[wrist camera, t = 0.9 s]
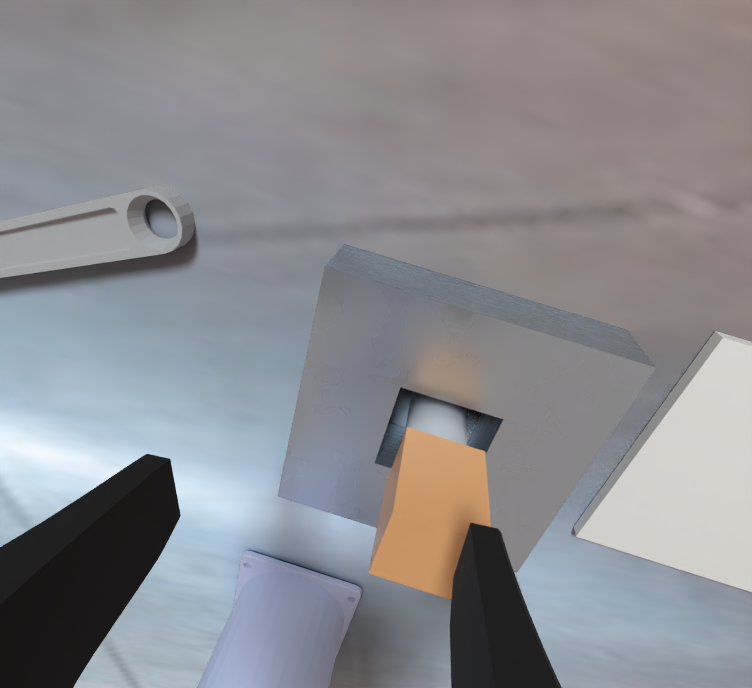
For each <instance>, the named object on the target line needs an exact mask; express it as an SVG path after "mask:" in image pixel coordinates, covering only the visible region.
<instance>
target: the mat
mask: <svg viewBox="0 0 752 688" xmlns="http://www.w3.org/2000/svg"><path fill="white" fill-rule="evenodd" d="M574 531H575V535H576V537H579V538H582V539H585V540H588V541H592V542H595V543H598V544H601V545H604V546H607V547H610V548H614V549H617V550H620V551H623V552H626V553H629V554H633V555H636V556H639V557H642V558H645V559H648V560H652V561H655V562H658V563H661V564H664V565H667V566H670V567H674V568H677V569H680V570H683V571H686V572H689V573H693V574H696V575H699V576H702V577H705V578H708V579H712V580H715V581H718V582H721V583H724V584H727V585H730V586H734V587H737V588H740V589H743V590H746V591H749V592H752V342H750V341H747V340H743V339H740V338H737V337H733V336H730V335H727V334H724V333H720V332H717V331H715V332H714V333H713V335H712V336H711V337H710V339H709V340H708V341H707V343H706V344H705V346H704V347H703V348H702V350H701V351H700V353H699V354H698V355H697V357H696V358H695V359H694V361H693V362H692V364H691V365H690V366H689V368H688V369H687V371H686V372H685V373H684V375H683V376H682V377H681V379H680V380H679V382H678V383H677V384H676V386H675V387H674V388H673V390H672V391H671V393H670V394H669V395H668V397H667V398H666V400H665V401H664V402H663V404H662V405H661V406H660V408H659V409H658V411H657V412H656V413H655V415H654V416H653V418H652V419H651V420H650V422H649V423H648V424H647V426H646V427H645V429H644V430H643V431H642V433H641V434H640V436H639V437H638V438H637V440H636V441H635V442H634V444H633V445H632V447H631V448H630V449H629V451H628V452H627V454H626V455H625V456H624V458H623V459H622V460H621V462H620V463H619V465H618V466H617V467H616V469H615V470H614V471H613V473H612V474H611V476H610V477H609V478H608V480H607V481H606V483H605V484H604V485H603V487H602V488H601V489H600V491H599V492H598V494H597V495H596V496H595V498H594V499H593V501H592V502H591V503H590V505H589V506H588V507H587V509H586V510H585V512H584V513H583V514H582V516H581V517H580V519H579V520H578V521H577V523H576V524H575V525H574Z"/></svg>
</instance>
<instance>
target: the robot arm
mask: <svg viewBox="0 0 752 688" xmlns="http://www.w3.org/2000/svg"><path fill="white" fill-rule="evenodd" d="M179 518H180V510H179V505H178V499H177V494H176V488H175V483H174V477H173V472H172V466H171V461H170V459H168V458H164V457H159V456H154V455H150V454H146V455H144V456H143V457H141V458H140V459H138V460H136V461H135V462H133V463H132V464H130V465H129V466H127V467H126V468H124V469H123V470H121V471H120V472H118V473H117V474H115V475H114V476H112V477H111V478H109V479H108V480H106V481H105V482H103V483H102V484H100V485H99V486H97V487H96V488H94V489H93V490H91V491H90V492H88V493H87V494H85V495H84V496H82V497H81V498H79V499H77V500H76V501H74V502H73V503H71V504H70V505H68V506H67V507H65V508H63V509H62V510H60V511H59V512H57V513H56V514H54V515H53V516H51V517H50V518H48V519H46V520H45V521H43V522H42V523H40V524H38V525H37V526H35V527H33V528H32V529H30V530H28V531H27V532H25V533H23V534H22V535H20V536H18V537H17V538H15V539H13V540H12V541H10V542H8V543H7V544H5V545H3V546H2V547H0V688H73V687H74V685H75V683H76V682H77V680H78V678H79V677H80V675H81V673H82V672H83V670H84V669H85V667H86V665H87V664H88V662H89V661H90V659H91V658H92V656H93V654H94V653H95V651H96V650H97V648H98V647H99V646H100V644H101V643H102V641H103V640H104V638H105V637H106V635H107V634H108V632H109V631H110V629H111V628H112V626H113V625H114V623H115V622H116V620H117V619H118V618H119V616H120V615H121V613H122V612H123V610H124V609H125V607H126V606H127V604H128V603H129V601H130V600H131V598H132V597H133V595H134V594H135V593H136V591H137V590H138V588H139V587H140V585H141V584H142V582H143V581H144V579H145V578H146V576H147V575H148V573H149V572H150V570H151V569H152V567H153V566H154V564H155V563H156V561H157V560H158V558H159V556H160V554H161V553H162V551H163V549H164V547H165V545H166V543H167V541H168V540H169V538H170V536H171V534H172V532H173V530H174V528H175V526H176V524H177V522H178V520H179ZM361 594H362V590H361V588H360V587H359V586H357V585H354V584H351V583H348V582H345V581H342V580H339V579H336V578H333V577H330V576H327V575H323V574H320V573H317V572H314V571H311V570H308V569H305V568H302V567H299V566H296V565H293V564H289V563H286V562H283V561H280V560H277V559H274V558H271V557H268V556H265V555H262V554H259V553H256V552H252V551H245V552H244V553H243V555H242V557H241V561H240V567H239V573H238V579H237V585H236V591H235V598H234V604H233V610H232V612H231V614H230V616H229V618H228V621H227V623H226V625H225V627H224V629H223V632H222V634H221V636H220V638H219V640H218V642H217V645H216V647H215V649H214V651H213V653H212V656H211V658H210V660H209V662H208V664H207V667H206V669H205V671H204V673H203V675H202V678H201V680H200V682H199V684H198V686H197V688H329V685H330V681H331V676H332V672H333V667H334V663H335V659H336V657H337V654H338V652H339V649H340V647H341V644H342V642H343V639H344V637H345V634H346V632H347V630H348V627H349V625H350V622H351V620H352V617H353V615H354V612H355V610H356V608H357V605H358V603H359V600H360V598H361ZM450 649H451V685H452V688H561V685H560V683H559V681H558V679H557V677H556V675H555V672H554V670H553V668H552V666H551V664H550V661H549V659H548V657H547V655H546V652H545V650H544V648H543V645H542V643H541V640H540V638H539V636H538V633H537V631H536V628H535V626H534V624H533V621H532V619H531V616H530V614H529V611H528V609H527V606H526V604H525V601H524V599H523V596H522V593H521V590H520V588H519V585H518V582H517V579H516V577H515V574H514V571H513V568H512V565H511V562H510V559H509V556H508V553H507V550H506V547H505V543H504V540H503V536H502V533H501V532H500V530H499V529H498V528H494V527H489V526H484V525H480V524H475V523H470V525H469V529H468V532H467V535H466V538H465V541H464V545H463V548H462V551H461V554H460V557H459V561H458V564H457V567H456V570H455V573H454V577H453V588H452V602H451V618H450Z"/></svg>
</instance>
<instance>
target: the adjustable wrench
mask: <svg viewBox="0 0 752 688" xmlns="http://www.w3.org/2000/svg"><path fill="white" fill-rule="evenodd" d="M154 199H160V200H161V201H163V202H164V203H165V204H166V205H167V206H168V207H169V208H170V209H171V211H172V213H173V214H174V216H175V218H176V222H177V226H178V230H177V235H176V236H175V237H173V238H170V239H165V238H162V237H161V236H159V235H158V234H156V233H155V232H154V231H153V230H152V228H151V227H150V225H149V223H148V222H147V218H146V205H147V203H148V202H149V201H151V200H154ZM194 231H195V220H194V215H193V212H192V210H191V208H190V206H189V204H188V203H187V201H186V200H185V199H184V198H183V197H182V196H181V195H180V194H179V193H177V192H176V191H174V190H173V189H170V188H167V187H164V186H154V187H149V188H145V189H141V190H136V191H132V192H127V193H123V194H119V195H114V196H110V197H106V198H101V199H97V200H92V201H88V202H84V203H79V204H75V205H71V206H66V207H62V208H57V209H53V210H49V211H44V212H40V213H36V214H31V215H27V216H22V217H18V218H14V219H9V220H5V221H1V222H0V278H4V277H10V276H17V275H24V274H31V273H38V272H44V271H51V270H58V269H65V268H72V267H78V266H85V265H92V264H99V263H106V262H112V261H119V260H126V259H133V258H140V257H146V256H153V255H160V254H166V253H168V252H171V251H173V250H175V249H177V248H179V247H181V246H184V245H186V244H187V243H188V242H189V241H190V240H191V238H192V236H193V234H194Z"/></svg>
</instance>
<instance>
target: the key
mask: <svg viewBox="0 0 752 688" xmlns="http://www.w3.org/2000/svg"><path fill="white" fill-rule="evenodd" d="M470 523H475V524H480V525H484V526H489V527H491V520H490V507H489V494H488V481H487V468H486V455H485V451H483V450H479V449H476V448H473V447H470V446H467V409H466V408H465V407H462V406H459V405H456V404H452V403H449V402H446V401H443V400H440V399H436V398H433V397H430V396H427V395H424V394H420V393H417V392H414V391H413V392H412V395H411V400H410V406H409V412H408V418H407V424H406V429H405V434H404V436H403V439H402V442H401V444H400V447H399V450H398V452H397V455H396V458H395V460H394V463H393V466H392V468H391V471H390V474H389V476H388V479H387V482H386V486H385V491H384V496H383V501H382V506H381V511H380V516H379V521H378V527H377V532H376V537H375V542H374V547H373V552H372V557H371V562H370V567H369V572H368V573H369V574H372V575H375V576H378V577H381V578H384V579H388V580H391V581H394V582H397V583H400V584H403V585H406V586H409V587H412V588H415V589H419V590H422V591H425V592H428V593H431V594H434V595H437V596H440V597H443V598H446V599H450V600H452V588H453V577H454V573H455V570H456V567H457V564H458V561H459V557H460V554H461V551H462V548H463V545H464V541H465V538H466V535H467V532H468V529H469V525H470Z"/></svg>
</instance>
